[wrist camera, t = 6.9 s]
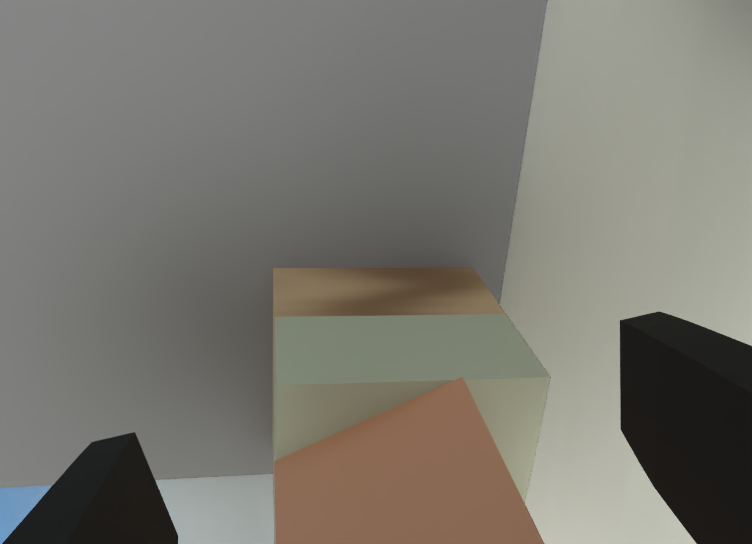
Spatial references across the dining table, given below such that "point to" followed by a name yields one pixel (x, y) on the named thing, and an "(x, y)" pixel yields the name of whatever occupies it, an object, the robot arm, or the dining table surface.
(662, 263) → the dining table surface
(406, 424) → the terracotta block
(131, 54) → the slate mat
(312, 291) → the oak tower base block
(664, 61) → the dining table surface
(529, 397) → the sage tower top block
